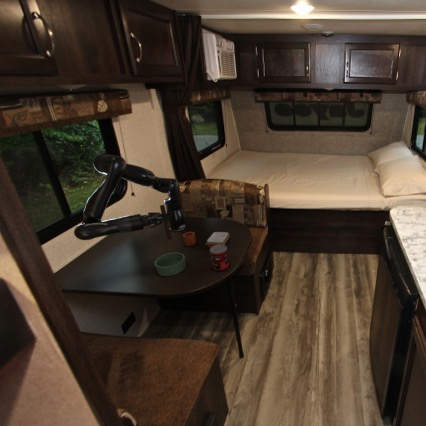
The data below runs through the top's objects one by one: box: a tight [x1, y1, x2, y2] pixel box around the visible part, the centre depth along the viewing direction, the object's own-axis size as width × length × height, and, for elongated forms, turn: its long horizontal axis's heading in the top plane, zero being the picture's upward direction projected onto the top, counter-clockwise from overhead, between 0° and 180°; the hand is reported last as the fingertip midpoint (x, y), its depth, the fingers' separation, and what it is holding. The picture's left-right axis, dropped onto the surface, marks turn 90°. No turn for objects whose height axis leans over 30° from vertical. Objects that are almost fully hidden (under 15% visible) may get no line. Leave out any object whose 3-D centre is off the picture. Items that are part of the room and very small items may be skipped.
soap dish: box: [205, 231, 230, 249], centre depth 168 cm, size 12×10×5 cm
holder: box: [183, 231, 197, 247], centre depth 168 cm, size 6×6×6 cm
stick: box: [159, 204, 173, 240], centre depth 142 cm, size 2×2×18 cm
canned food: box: [209, 244, 230, 272], centre depth 147 cm, size 8×8×11 cm
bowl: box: [154, 251, 187, 277], centre depth 147 cm, size 14×14×5 cm
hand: (171, 215), depth 142 cm, fingers closed on stick, 2 cm apart
